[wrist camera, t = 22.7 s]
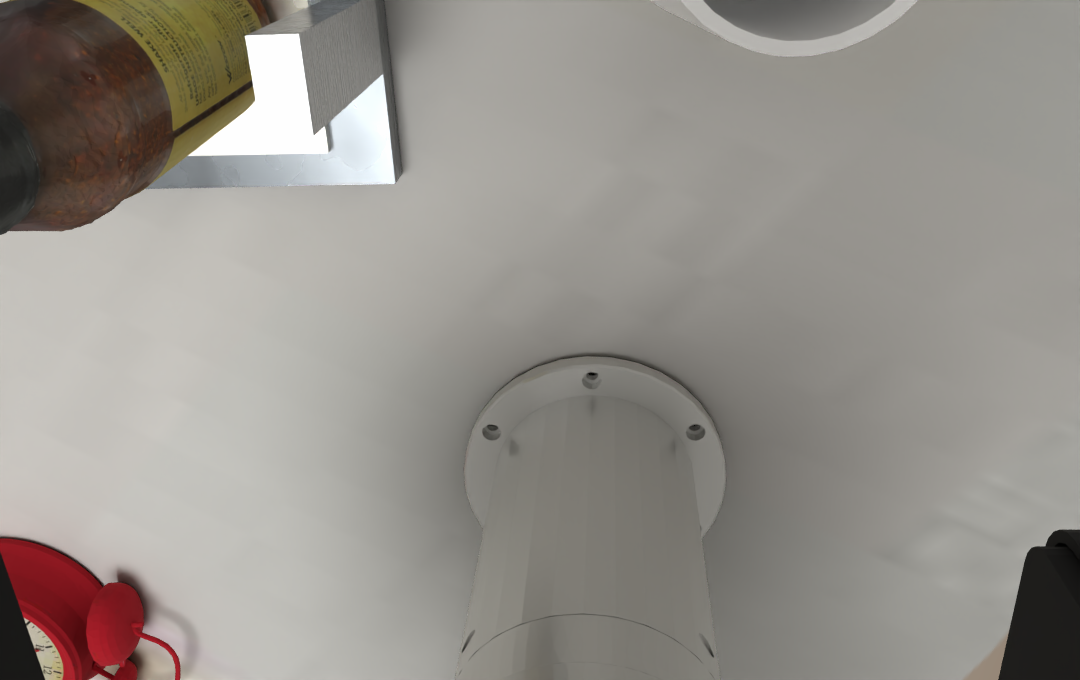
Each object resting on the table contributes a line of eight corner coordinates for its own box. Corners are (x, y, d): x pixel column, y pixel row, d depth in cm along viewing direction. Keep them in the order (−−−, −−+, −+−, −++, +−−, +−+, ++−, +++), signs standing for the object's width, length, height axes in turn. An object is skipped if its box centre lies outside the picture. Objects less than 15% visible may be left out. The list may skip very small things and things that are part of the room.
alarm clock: (-131, 551, 48) (127, 673, 46) (-30, 488, 54) (204, 595, 52) (-124, 695, 53) (111, 813, 51) (-32, 623, 59) (183, 727, 57)
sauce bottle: (139, -74, 36) (-322, -16, 18) (300, -11, 37) (6, 103, 19) (112, 92, 39) (-310, 283, 21) (262, 148, 39) (-25, 378, 22)
